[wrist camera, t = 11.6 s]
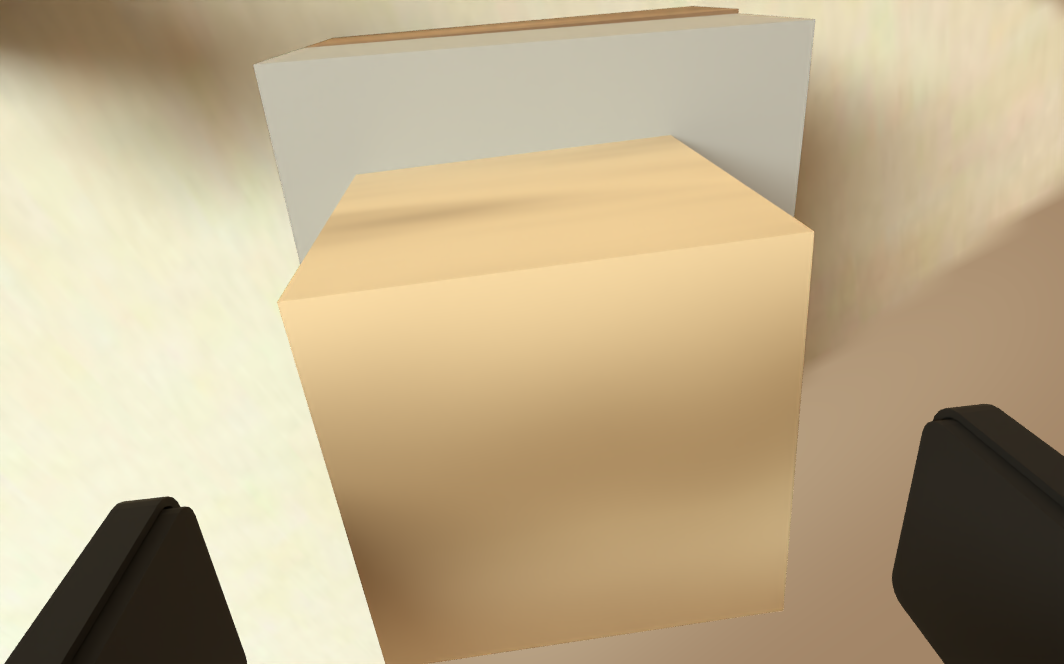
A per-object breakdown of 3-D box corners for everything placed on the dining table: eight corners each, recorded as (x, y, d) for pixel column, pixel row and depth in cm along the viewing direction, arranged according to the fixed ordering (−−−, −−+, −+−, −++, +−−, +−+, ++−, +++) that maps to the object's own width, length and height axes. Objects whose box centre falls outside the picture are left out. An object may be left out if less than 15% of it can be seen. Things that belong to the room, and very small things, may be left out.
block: (674, 400, 16) (783, 610, 10) (414, 436, 16) (387, 669, 10) (670, 134, 13) (814, 231, 8) (356, 174, 13) (277, 302, 7)
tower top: (714, 382, 20) (767, 465, 17) (378, 417, 20) (357, 509, 16) (737, 13, 16) (815, 19, 12) (302, 47, 15) (253, 64, 12)
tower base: (681, 321, 24) (718, 379, 20) (395, 352, 24) (381, 416, 20) (689, 6, 19) (738, 8, 16) (335, 37, 19) (303, 47, 15)
